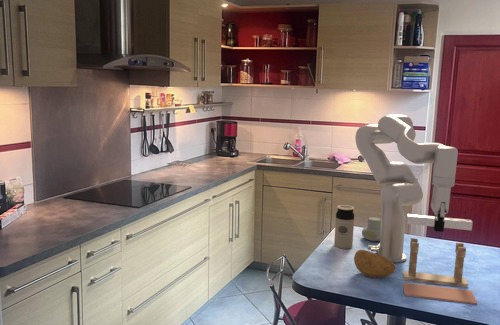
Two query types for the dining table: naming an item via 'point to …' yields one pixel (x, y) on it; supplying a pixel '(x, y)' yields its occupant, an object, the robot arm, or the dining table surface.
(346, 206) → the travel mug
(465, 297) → the terracotta mat
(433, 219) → the steel bar
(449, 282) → the hook stand
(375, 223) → the air freshener
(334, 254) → the dining table surface
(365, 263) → the potato
